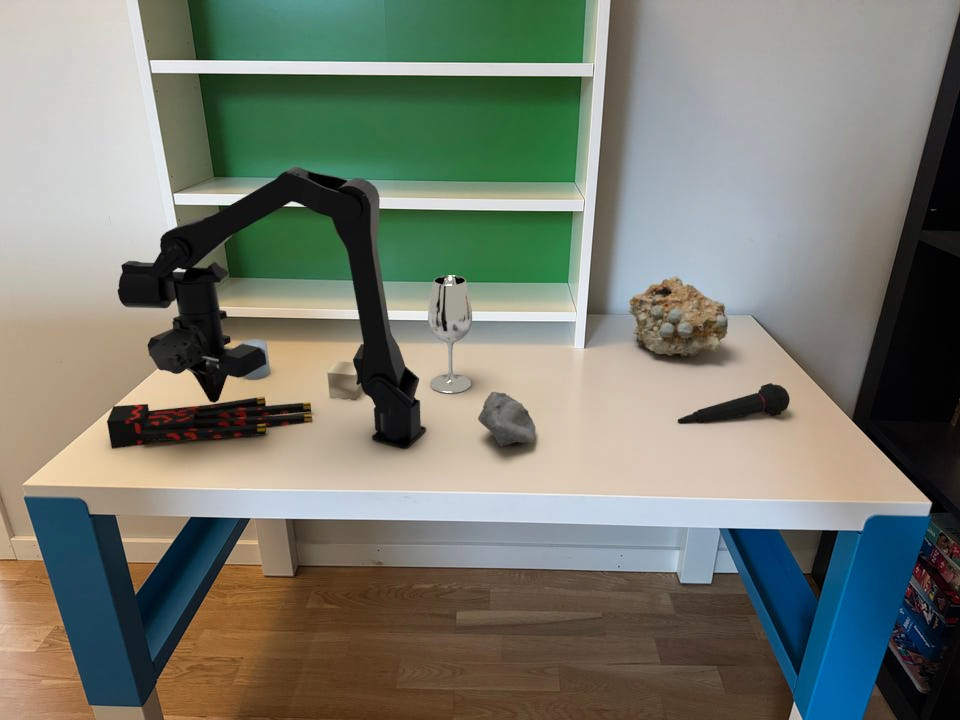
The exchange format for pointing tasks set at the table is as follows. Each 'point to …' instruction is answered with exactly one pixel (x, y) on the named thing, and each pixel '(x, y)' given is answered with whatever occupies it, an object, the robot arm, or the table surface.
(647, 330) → the rock
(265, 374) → the grey cylinder
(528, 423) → the grey stone
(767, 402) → the microphone
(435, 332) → the wineglass
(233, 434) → the toy
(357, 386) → the beech cube
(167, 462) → the table surface
